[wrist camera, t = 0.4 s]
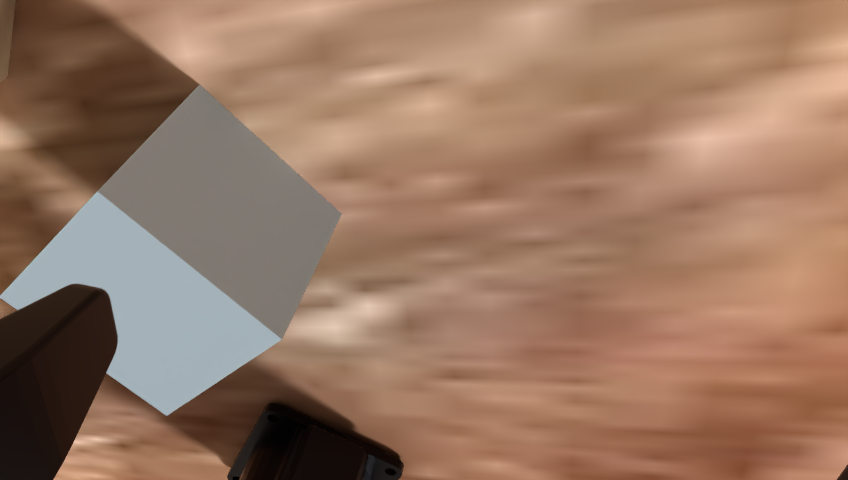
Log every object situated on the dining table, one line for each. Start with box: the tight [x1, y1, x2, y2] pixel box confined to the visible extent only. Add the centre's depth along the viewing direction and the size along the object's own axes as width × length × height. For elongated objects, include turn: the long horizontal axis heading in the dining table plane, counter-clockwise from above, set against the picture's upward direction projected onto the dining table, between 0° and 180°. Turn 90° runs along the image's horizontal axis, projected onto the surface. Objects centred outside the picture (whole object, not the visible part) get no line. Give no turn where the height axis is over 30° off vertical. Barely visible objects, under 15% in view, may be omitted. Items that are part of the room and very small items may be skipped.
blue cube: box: [0, 84, 341, 416], centre depth 23 cm, size 6×6×6 cm
